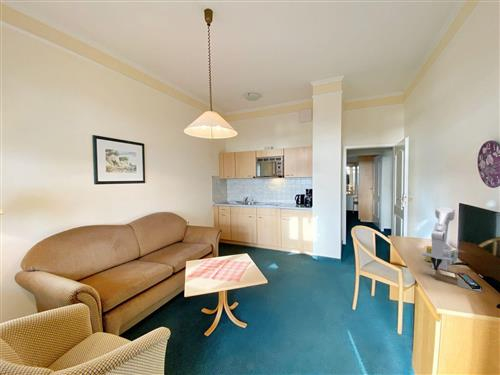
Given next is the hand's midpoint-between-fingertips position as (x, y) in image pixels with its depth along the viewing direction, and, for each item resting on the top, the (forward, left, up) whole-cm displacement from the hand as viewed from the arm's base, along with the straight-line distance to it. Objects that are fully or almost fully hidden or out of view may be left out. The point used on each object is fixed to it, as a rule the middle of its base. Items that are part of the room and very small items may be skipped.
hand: (435, 269), depth 136 cm
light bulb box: (-38, +7, -5) cm, 39 cm away
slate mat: (0, +15, -5) cm, 16 cm away
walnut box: (0, +5, -5) cm, 7 cm away
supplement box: (-30, -3, -5) cm, 31 cm away
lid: (0, +5, -2) cm, 6 cm away
